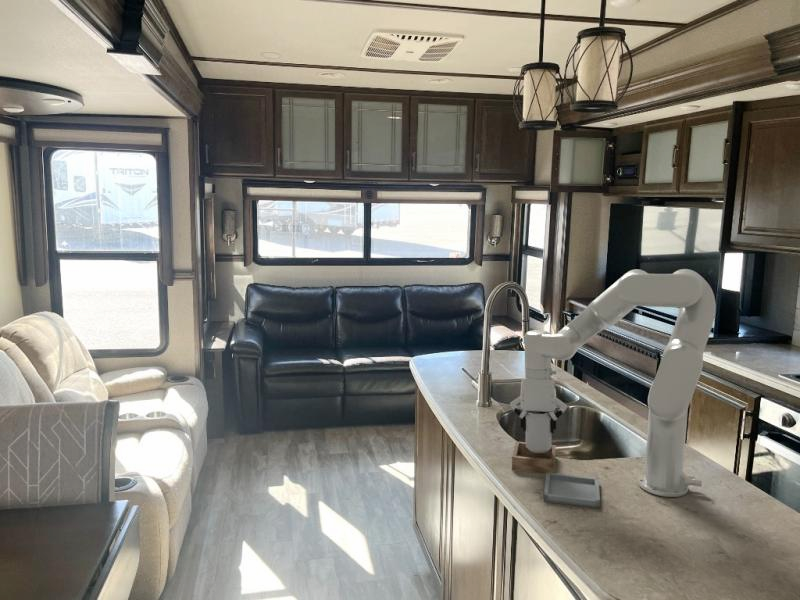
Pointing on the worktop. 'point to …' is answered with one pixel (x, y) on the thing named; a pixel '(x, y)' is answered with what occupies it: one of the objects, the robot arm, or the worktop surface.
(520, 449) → the caddy
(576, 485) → the tray
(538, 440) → the can
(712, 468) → the worktop surface
